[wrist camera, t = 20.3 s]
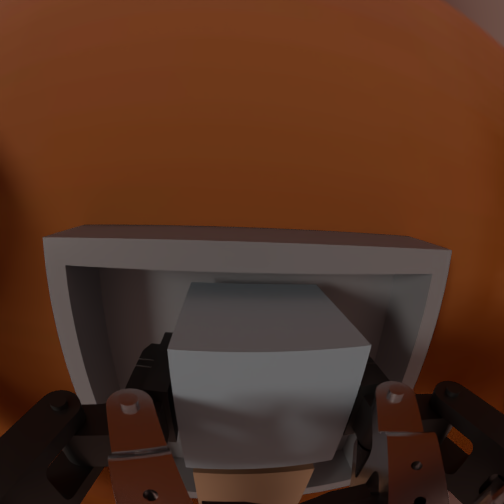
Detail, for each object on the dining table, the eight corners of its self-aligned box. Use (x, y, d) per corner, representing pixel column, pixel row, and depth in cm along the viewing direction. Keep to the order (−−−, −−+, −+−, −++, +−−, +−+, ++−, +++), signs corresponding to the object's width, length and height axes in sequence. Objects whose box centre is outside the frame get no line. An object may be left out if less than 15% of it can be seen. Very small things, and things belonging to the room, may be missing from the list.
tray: (131, 451, 15) (121, 486, 11) (84, 225, 12) (43, 237, 8) (348, 448, 16) (363, 481, 13) (408, 236, 13) (451, 250, 10)
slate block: (195, 382, 12) (185, 467, 7) (191, 282, 11) (167, 348, 6) (301, 381, 12) (332, 459, 7) (315, 284, 11) (371, 345, 6)
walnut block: (203, 451, 14) (200, 513, 9) (199, 398, 13) (192, 472, 8) (281, 450, 15) (294, 510, 10) (292, 398, 14) (314, 468, 9)
